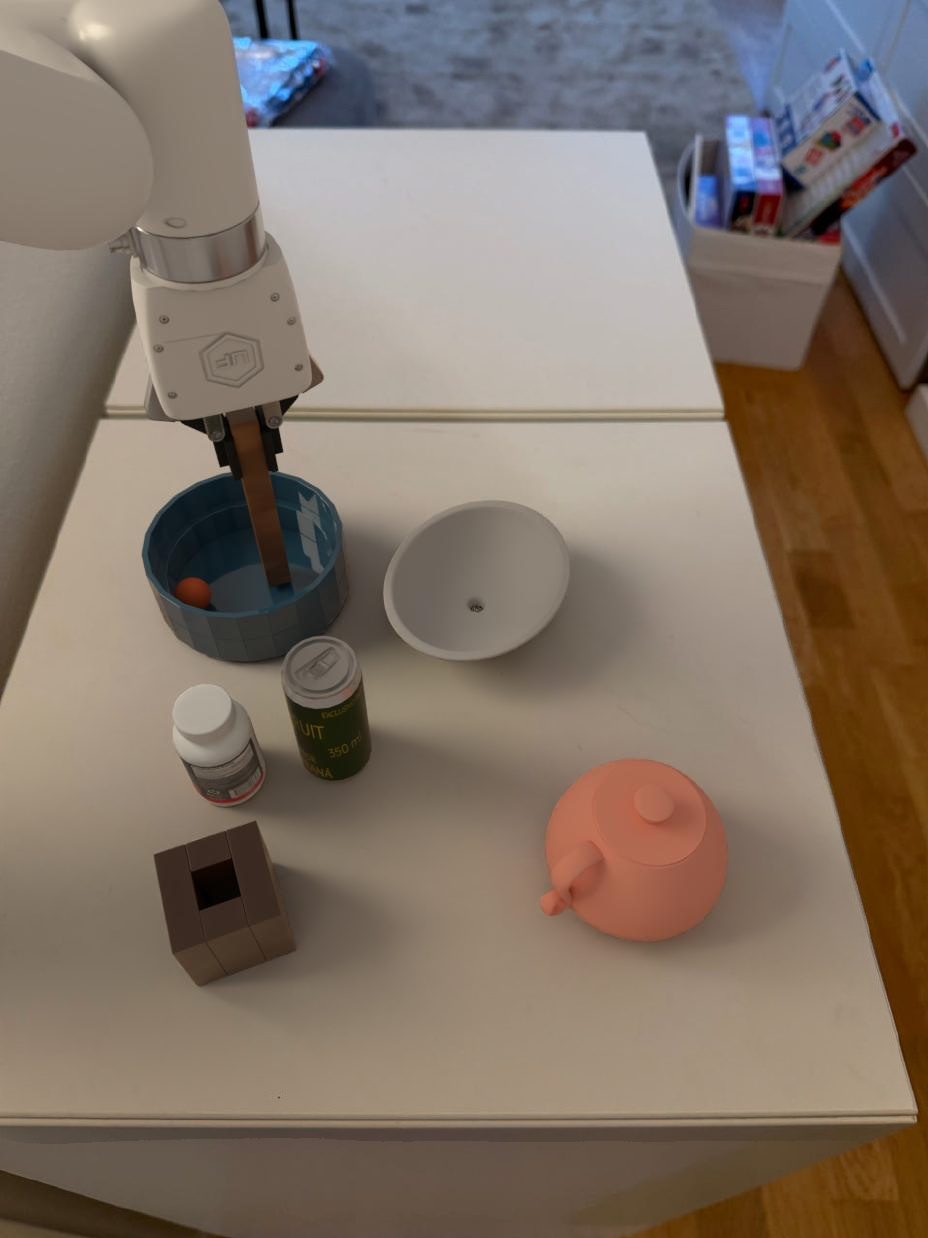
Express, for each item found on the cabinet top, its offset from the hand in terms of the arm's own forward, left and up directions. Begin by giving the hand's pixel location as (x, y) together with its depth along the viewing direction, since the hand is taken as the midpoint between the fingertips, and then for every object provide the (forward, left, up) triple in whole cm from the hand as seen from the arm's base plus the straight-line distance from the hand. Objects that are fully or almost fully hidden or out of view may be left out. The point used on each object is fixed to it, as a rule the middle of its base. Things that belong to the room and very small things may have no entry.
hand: (252, 462), depth 69 cm
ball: (-7, 0, -12) cm, 14 cm away
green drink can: (0, -18, -15) cm, 23 cm away
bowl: (-2, 0, -14) cm, 15 cm away
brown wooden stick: (0, 0, -13) cm, 13 cm away
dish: (+15, -9, -15) cm, 23 cm away
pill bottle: (-8, -17, -15) cm, 24 cm away
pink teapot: (+16, -34, -15) cm, 40 cm away
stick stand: (-10, -28, -14) cm, 33 cm away
